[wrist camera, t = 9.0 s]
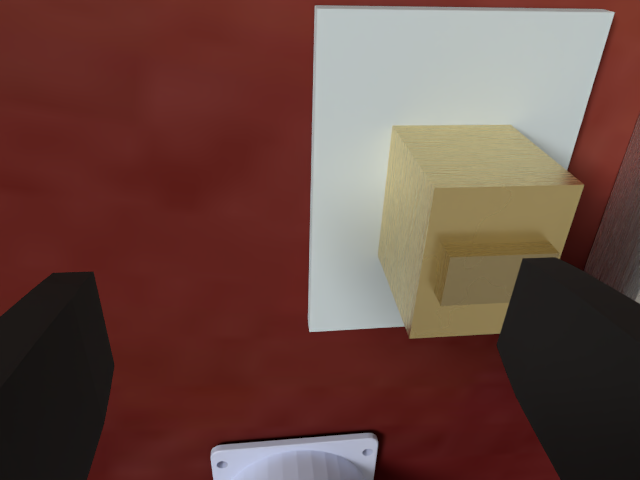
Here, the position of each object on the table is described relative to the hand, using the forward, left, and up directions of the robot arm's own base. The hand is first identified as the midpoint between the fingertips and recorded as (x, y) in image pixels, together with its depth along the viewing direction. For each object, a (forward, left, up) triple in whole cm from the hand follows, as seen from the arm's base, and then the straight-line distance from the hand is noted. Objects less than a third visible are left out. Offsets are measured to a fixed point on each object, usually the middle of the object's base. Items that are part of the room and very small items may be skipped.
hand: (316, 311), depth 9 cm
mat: (-2, -5, -10) cm, 11 cm away
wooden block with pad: (-2, -5, -9) cm, 11 cm away
